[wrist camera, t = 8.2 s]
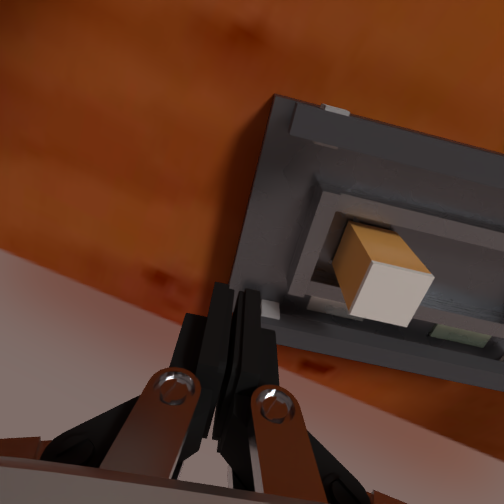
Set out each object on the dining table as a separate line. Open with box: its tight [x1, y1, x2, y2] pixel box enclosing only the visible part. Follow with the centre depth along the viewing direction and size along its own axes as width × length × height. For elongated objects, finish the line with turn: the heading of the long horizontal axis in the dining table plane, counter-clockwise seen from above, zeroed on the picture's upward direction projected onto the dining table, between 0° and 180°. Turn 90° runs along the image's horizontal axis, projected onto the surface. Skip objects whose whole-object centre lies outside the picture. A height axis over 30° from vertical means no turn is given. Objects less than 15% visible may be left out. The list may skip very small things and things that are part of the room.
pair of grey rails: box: [261, 102, 504, 392], centre depth 21 cm, size 22×14×2 cm, turn 77°
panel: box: [228, 93, 504, 361], centre depth 22 cm, size 24×14×5 cm, turn 77°
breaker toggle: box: [332, 221, 435, 327], centre depth 19 cm, size 3×3×5 cm
